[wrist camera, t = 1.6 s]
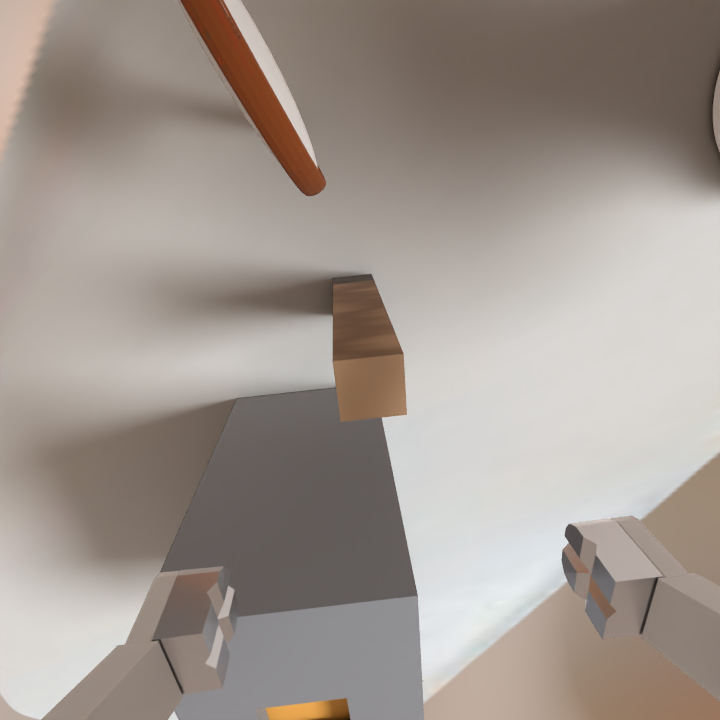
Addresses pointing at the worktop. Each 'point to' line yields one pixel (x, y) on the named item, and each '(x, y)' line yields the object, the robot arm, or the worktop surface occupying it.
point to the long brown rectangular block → (365, 353)
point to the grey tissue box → (306, 563)
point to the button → (311, 711)
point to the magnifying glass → (256, 85)
